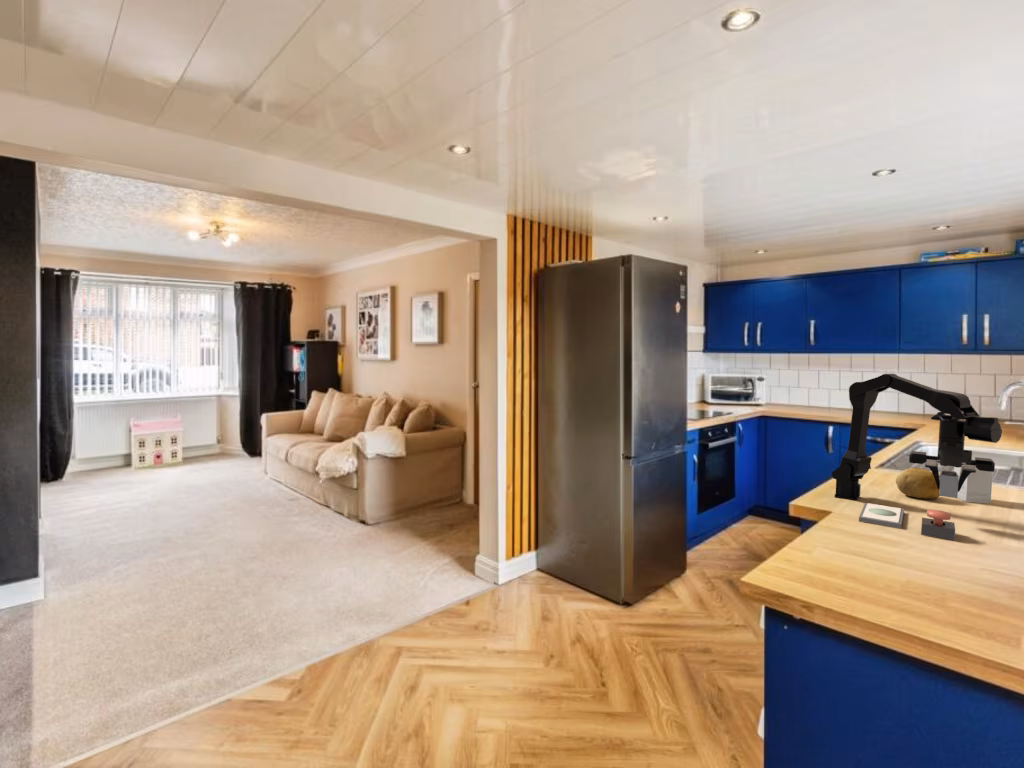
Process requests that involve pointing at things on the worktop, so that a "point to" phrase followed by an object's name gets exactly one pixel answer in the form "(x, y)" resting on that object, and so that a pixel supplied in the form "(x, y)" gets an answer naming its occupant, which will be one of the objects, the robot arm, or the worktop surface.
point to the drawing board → (882, 515)
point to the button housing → (938, 529)
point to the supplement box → (976, 486)
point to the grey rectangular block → (948, 484)
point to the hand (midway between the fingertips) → (948, 490)
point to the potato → (917, 483)
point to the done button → (938, 516)
